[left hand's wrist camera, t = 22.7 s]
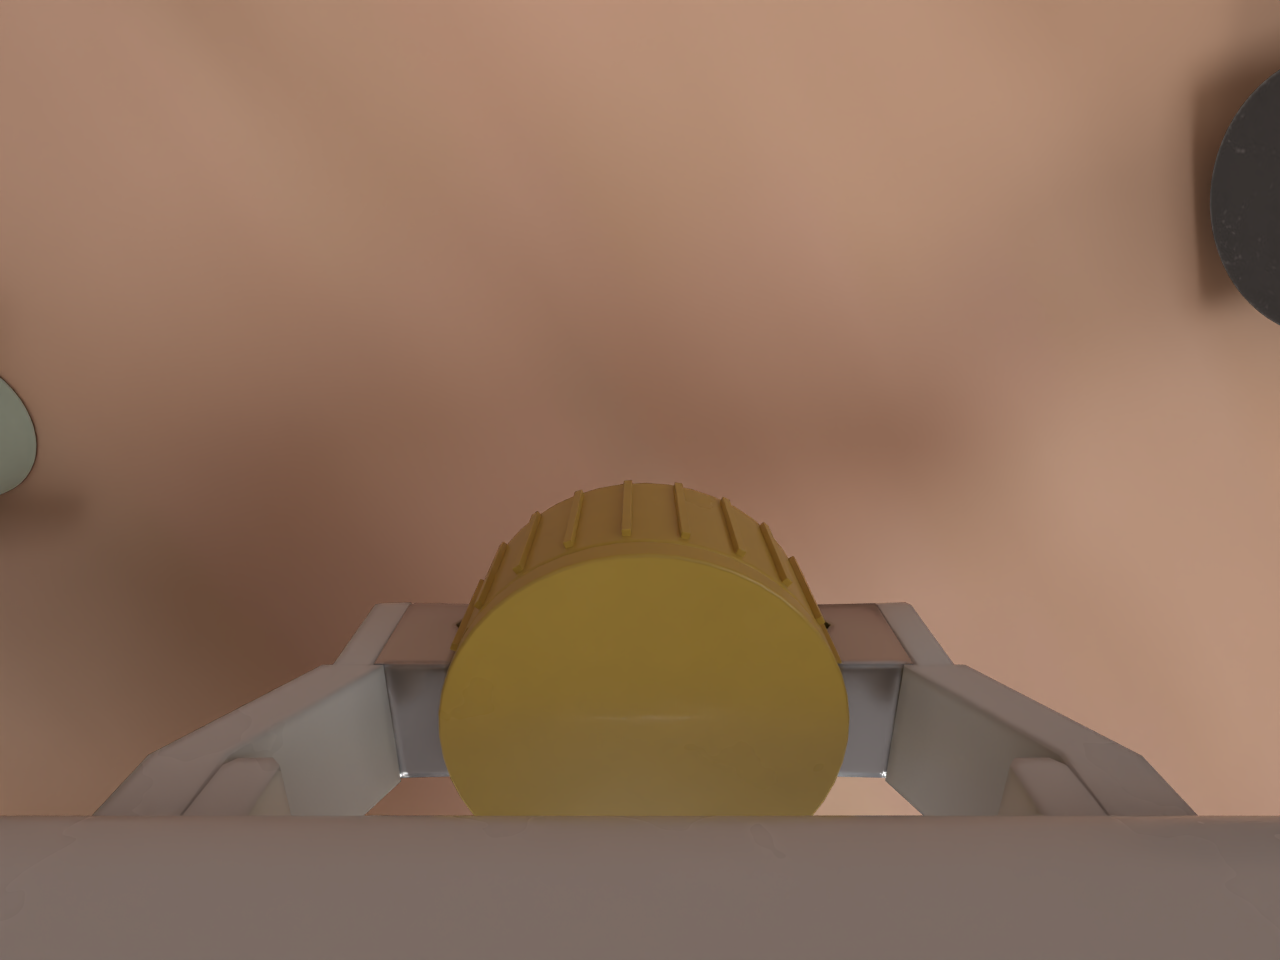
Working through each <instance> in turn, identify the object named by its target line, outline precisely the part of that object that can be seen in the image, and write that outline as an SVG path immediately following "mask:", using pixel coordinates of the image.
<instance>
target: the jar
mask: <svg viewBox="0 0 1280 960" xmlns="http://www.w3.org/2000/svg"><path fill="white" fill-rule="evenodd" d="M35 456H36V435H35V431H34V427H33V424H32V421H31V418H30V416H29V414H28V412H27V410H26V408H25V406H24V405H23V403H22V401H21V400H20V398H19V397H18V396H17V395H16V393H15V392H14V391H13V390H12V388H11V387H10V386H9V385H8V384H7V383H6V382H5V381H4V380H2V379H1V378H0V495H1V494H3V493H5V492H8V491H10V490H11V489H13V488H15V487H16V486H18V485H19V484H20V483H21V482H22V481H23V480H24V479H25V478H26V477H27V475H28V474H29V472H30V470H31V468H32V466H33V464H34V460H35Z"/></svg>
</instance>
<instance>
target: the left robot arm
mask: <svg viewBox="0 0 1280 960" xmlns="http://www.w3.org/2000/svg"><path fill="white" fill-rule="evenodd" d="M468 606H469V604H442V603H413V604H412V603H411V602H405V603H379V604H376V605H375V606H374V607H373V608H372V609H371V611H370V612H369V614H368V615H367V616H366V618H365V619H364V621H363V622H362V624H361V625H360V626H359V628H358V629H357V631H356V632H355V634H354V635H353V636H352V638H351V639H350V641H349V642H348V644H347V645H346V646H345V648H344V649H343V651H342V652H341V654H340V655H339V656H338V658H337V659H336V661H335V662H334V664H333V665H321V666H319V667H317V668H315V669H313V670H311V671H309V672H307V673H305V674H303V675H301V676H299V677H298V678H296V679H294V680H292V681H290V682H288V683H286V684H284V685H282V686H280V687H278V688H276V689H274V690H272V691H271V692H269V693H267V694H265V695H263V696H261V697H259V698H257V699H255V700H253V701H251V702H249V703H247V704H245V705H243V706H242V707H240V708H238V709H236V710H234V711H232V712H230V713H228V714H226V715H224V716H222V717H220V718H218V719H216V720H214V721H213V722H211V723H209V724H207V725H205V726H203V727H201V728H199V729H197V730H195V731H193V732H191V733H189V734H187V735H185V736H184V737H182V738H180V739H178V740H176V741H174V742H172V743H170V744H168V745H166V746H164V747H162V748H160V749H158V750H156V751H155V752H153V753H151V754H149V755H148V756H147V757H146V758H145V759H144V760H143V761H142V762H141V763H140V764H139V765H138V766H137V767H136V769H135V770H134V771H133V772H132V773H131V774H130V775H129V776H128V777H127V778H126V779H125V780H124V781H123V783H122V784H121V785H120V786H119V787H118V788H117V789H116V790H115V791H114V792H113V793H112V794H111V795H110V797H109V798H108V799H107V800H106V801H105V802H104V803H103V804H102V805H101V806H100V807H99V808H98V810H97V811H96V812H95V813H94V814H93V815H92V816H0V960H1280V816H1198V815H1197V814H1196V813H1195V812H1194V811H1193V810H1192V809H1191V808H1190V807H1189V806H1188V804H1187V803H1186V802H1185V801H1184V800H1183V799H1182V798H1181V797H1180V796H1179V795H1178V794H1177V793H1176V792H1175V791H1174V790H1173V788H1172V787H1171V786H1170V785H1169V784H1168V783H1167V782H1166V781H1165V780H1164V779H1163V778H1162V777H1161V776H1160V775H1159V774H1158V772H1157V771H1156V770H1155V769H1154V768H1153V767H1152V766H1151V765H1150V764H1149V763H1148V762H1147V761H1146V760H1145V759H1144V758H1143V757H1142V756H1141V755H1139V754H1137V753H1135V752H1134V751H1132V750H1130V749H1128V748H1126V747H1124V746H1122V745H1120V744H1118V743H1116V742H1114V741H1112V740H1110V739H1108V738H1106V737H1104V736H1102V735H1100V734H1099V733H1097V732H1095V731H1093V730H1091V729H1089V728H1087V727H1085V726H1083V725H1081V724H1079V723H1077V722H1075V721H1073V720H1071V719H1069V718H1067V717H1065V716H1064V715H1062V714H1060V713H1058V712H1056V711H1054V710H1052V709H1050V708H1048V707H1046V706H1044V705H1042V704H1040V703H1038V702H1036V701H1034V700H1032V699H1030V698H1029V697H1027V696H1025V695H1023V694H1021V693H1019V692H1017V691H1015V690H1013V689H1011V688H1009V687H1007V686H1005V685H1003V684H1001V683H999V682H997V681H995V680H994V679H992V678H990V677H988V676H986V675H984V674H982V673H980V672H978V671H976V670H974V669H972V668H970V667H968V666H966V665H954V664H953V662H952V661H951V659H950V658H949V657H948V655H947V654H946V653H945V651H944V650H943V648H942V647H941V646H940V644H939V643H938V641H937V640H936V639H935V637H934V636H933V635H932V633H931V632H930V630H929V629H928V628H927V626H926V625H925V624H924V622H923V621H922V619H921V618H920V617H919V615H918V614H917V612H916V611H915V610H914V608H913V607H912V606H911V605H910V604H908V603H906V602H897V603H864V604H824V605H818V607H819V609H820V611H821V614H822V616H823V618H824V620H825V623H824V625H825V627H826V629H827V631H828V633H829V635H830V637H831V640H832V642H833V644H834V646H835V648H836V650H837V652H838V654H839V657H840V659H841V661H842V663H837V664H838V666H839V668H840V670H841V673H842V676H843V680H844V684H845V687H846V691H847V695H848V705H849V716H850V719H849V734H848V742H847V747H846V751H845V755H844V760H843V763H842V766H841V768H840V771H839V773H838V776H839V777H875V778H886V779H885V781H886V782H887V783H888V784H890V785H891V786H892V787H893V788H894V789H895V790H896V791H897V792H898V793H899V794H900V795H902V796H903V797H904V798H905V799H906V800H907V801H908V802H909V803H910V804H911V805H912V806H914V807H915V808H916V809H917V810H918V811H919V812H920V813H921V814H922V815H923V816H364V815H365V814H366V813H367V812H368V811H369V810H370V809H371V808H372V807H374V806H375V805H376V804H377V803H378V802H379V801H380V800H381V799H382V798H383V797H384V796H385V795H387V794H388V793H389V792H390V791H391V790H392V789H393V788H394V787H395V786H396V785H397V784H398V783H400V782H401V778H411V777H446V776H450V775H449V773H448V770H447V767H446V764H445V761H444V759H443V754H442V749H441V743H440V738H439V721H438V711H439V704H440V697H441V690H442V687H443V684H444V680H445V677H446V674H447V671H448V668H449V666H450V663H451V661H452V659H453V656H454V654H455V652H456V651H453V650H450V647H451V644H452V642H453V639H454V637H455V635H456V633H457V630H458V628H459V626H460V624H461V621H462V619H463V617H464V615H465V613H466V610H467V608H468Z"/></svg>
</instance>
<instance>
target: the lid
mask: <svg viewBox="0 0 1280 960" xmlns="http://www.w3.org/2000/svg"><path fill="white" fill-rule="evenodd" d="M824 623H825V620H824V618H823V616H822V614H821V611H820V609H819V607H818V605H817V603H816V601H815V599H814V597H813V595H812V592H811V590H810V588H809V586H808V584H807V582H806V580H805V578H804V575H803V573H802V571H801V569H800V567H799V565H798V563H797V561H796V559H795V557H794V556H792V557H790V558H788V557H787V555H786V554H785V552H784V551H783V549H782V548H781V547H780V545H779V544H778V543H777V542H776V541H775V540H774V538H773V536H772V533H771V531H770V529H769V526H768V525H766V524H765V523H764V522H763V523H762V524H761V525H759V524H758V523H757V522H756V521H755V520H754V519H752V518H751V517H749V516H748V515H746V514H745V513H743V512H742V511H740V510H739V509H737V508H736V507H734V506H732V505H731V503H730V500H729V499H727V498H725V497H722V499H721V500H720V499H718V498H716V497H713V496H710V495H707V494H704V493H701V492H698V491H695V490H692V489H688V488H683V485H682V484H681V483H676V482H675V484H674V486H673V485H665V484H652V483H636V484H632V480H628V481H624V484H620V485H615V486H609V487H603V488H598V489H595V490H592V491H588V492H585V493H583V491H582V490H579V491H576V492H575V494H574V497H571V498H569V499H567V500H565V501H562V502H560V503H558V504H556V505H554V506H553V507H551V508H549V509H548V510H546V511H545V512H543V513H541V514H540V513H539V512H538V511H537V512H535V513H534V514H532V516H531V519H530V522H529V523H528V524H527V525H526V526H525V527H523V528H522V529H521V530H520V531H519V532H518V533H517V534H516V535H515V536H514V537H513V539H512V540H511V541H510V542H509V543H508V544H506V543H504V542H502V544H501V545H500V546H499V548H498V550H497V553H496V555H495V557H494V559H493V562H492V564H491V566H490V569H489V571H488V573H487V576H486V578H485V580H482V579H480V581H479V583H478V586H477V588H476V590H475V592H474V595H473V597H472V599H471V601H470V604H469V606H468V608H467V610H466V613H465V615H464V617H463V619H462V621H461V624H460V626H459V628H458V630H457V633H456V635H455V637H454V639H453V642H452V644H451V647H450V650H453V651H456V652H455V654H454V656H453V659H452V661H451V663H450V666H449V668H448V671H447V674H446V677H445V680H444V684H443V687H442V690H441V697H440V704H439V711H438V721H439V738H440V743H441V749H442V754H443V759H444V761H445V764H446V767H447V770H448V773H449V775H450V778H451V780H452V782H453V784H454V786H455V788H456V790H457V791H458V793H459V795H460V797H461V799H462V800H463V801H464V803H465V804H466V805H467V807H468V808H469V810H470V811H471V812H472V814H473V815H474V816H813V814H814V813H815V812H816V811H817V809H818V808H819V807H820V805H821V804H822V803H823V802H824V800H825V798H826V797H827V795H828V793H829V791H830V790H831V788H832V786H833V785H834V783H835V781H836V778H837V776H838V773H839V771H840V768H841V766H842V763H843V760H844V755H845V751H846V747H847V742H848V734H849V719H850V716H849V705H848V695H847V691H846V687H845V684H844V680H843V676H842V673H841V670H840V668H839V666H838V664H837V663H842V661H841V659H840V657H839V654H838V652H837V650H836V648H835V646H834V644H833V642H832V640H831V637H830V635H829V633H828V631H827V629H826V627H825V625H824Z"/></svg>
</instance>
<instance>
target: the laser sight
mask: <svg viewBox="0 0 1280 960" xmlns="http://www.w3.org/2000/svg"><path fill="white" fill-rule="evenodd" d="M1210 215H1211V224H1212V231H1213V235H1214V240H1215V244H1216V247H1217V250H1218V253H1219V256H1220V258H1221V261H1222V263H1223V266H1224V267H1225V269H1226V271H1227V273H1228V275H1229V277H1230V279H1231V280H1232V282H1233V283H1234V285H1235V286H1236V288H1237V289H1238V290H1239V292H1240V293H1241V294H1242V295H1243V297H1244V298H1245V299H1246V300H1247V301H1248V302H1249V303H1250V304H1251V305H1252V306H1253V307H1254V308H1255V309H1257V310H1258V311H1259V312H1260V313H1261V314H1263V315H1264V316H1266V317H1267V318H1268V319H1270V320H1272V321H1273V322H1275V323H1277V324H1278V325H1280V70H1278V71H1277V72H1276V73H1274V74H1273V75H1271V76H1270V77H1269V78H1268V79H1267V80H1265V81H1264V82H1263V83H1262V84H1261V85H1260V86H1259V87H1258V88H1257V89H1256V90H1255V91H1254V92H1253V93H1252V94H1251V95H1250V96H1249V98H1248V99H1247V100H1246V101H1245V103H1244V104H1243V105H1242V106H1241V108H1240V109H1239V111H1238V112H1237V114H1236V115H1235V117H1234V118H1233V120H1232V122H1231V124H1230V126H1229V127H1228V129H1227V131H1226V134H1225V136H1224V138H1223V140H1222V143H1221V146H1220V148H1219V151H1218V154H1217V158H1216V161H1215V165H1214V170H1213V175H1212V181H1211V191H1210Z"/></svg>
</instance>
